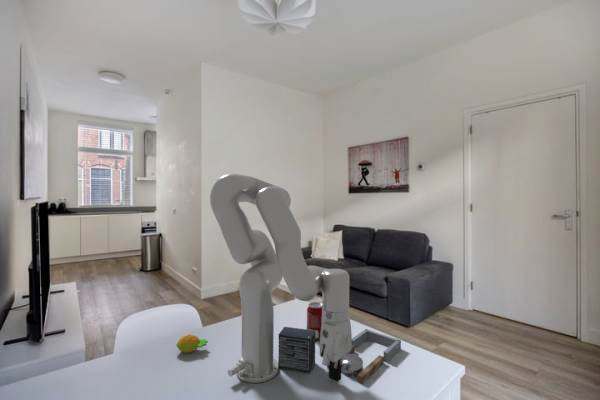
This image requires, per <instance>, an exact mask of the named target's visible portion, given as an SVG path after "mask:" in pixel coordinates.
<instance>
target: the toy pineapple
mask: <svg viewBox="0 0 600 400" xmlns="http://www.w3.org/2000/svg"><path fill="white" fill-rule="evenodd" d="M207 343H209V341H208V340H206V338H203V339H200V338H199V337H198V335H194V334H185V335H183V336H182V337H180V338H179V340H178V341H177V342H176V343H175V345H176V346H175V347H176V348H177V349H178V350H179V351H180V352H182V353H184V354H185V353H186V354H188V353H192V352H195V351H196V350H198V348H203V347H206V346H207V345H208V344H207Z"/></svg>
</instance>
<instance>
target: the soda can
mask: <svg viewBox="0 0 600 400" xmlns="http://www.w3.org/2000/svg"><path fill="white" fill-rule="evenodd" d="M322 321H323V320H322V302H317V301H313V302H310V303H308V306H307V309H306V329H307V330H314V331H315V341H316V340H320V333H321V325H322Z"/></svg>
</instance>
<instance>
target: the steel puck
mask: <svg viewBox="0 0 600 400" xmlns="http://www.w3.org/2000/svg"><path fill="white" fill-rule="evenodd" d="M363 365H364V359H363V358H362V357H360V356H359V355H356V354H353V353H352V354H346V355H345V356H343V362H342V365H341V375H342V374H343V375H344V376H345V377H351V378H353V377H354V378H355V377H358V374H359V373H360V372H361V371H362V370H364V369H363V368H364V367H363Z"/></svg>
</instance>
